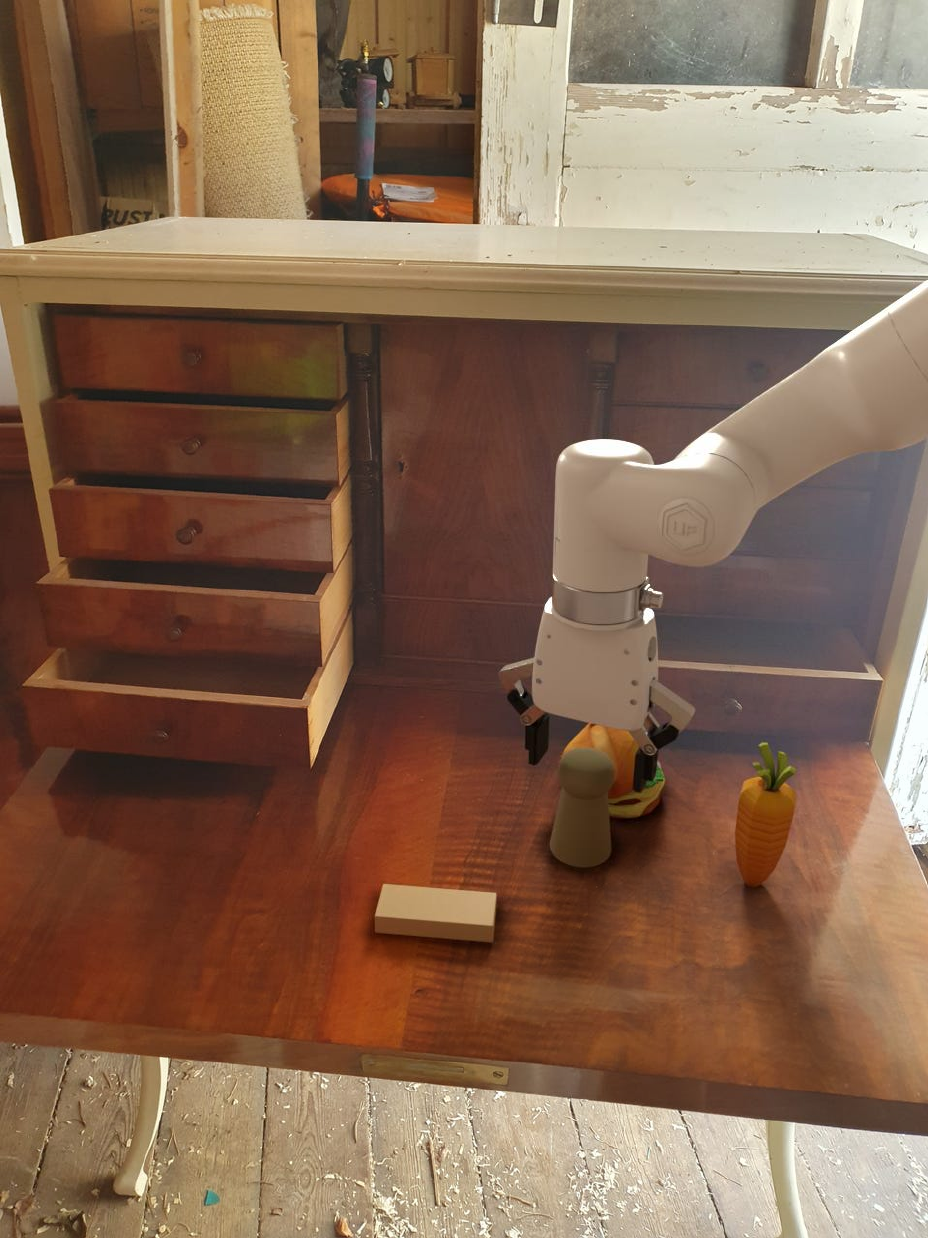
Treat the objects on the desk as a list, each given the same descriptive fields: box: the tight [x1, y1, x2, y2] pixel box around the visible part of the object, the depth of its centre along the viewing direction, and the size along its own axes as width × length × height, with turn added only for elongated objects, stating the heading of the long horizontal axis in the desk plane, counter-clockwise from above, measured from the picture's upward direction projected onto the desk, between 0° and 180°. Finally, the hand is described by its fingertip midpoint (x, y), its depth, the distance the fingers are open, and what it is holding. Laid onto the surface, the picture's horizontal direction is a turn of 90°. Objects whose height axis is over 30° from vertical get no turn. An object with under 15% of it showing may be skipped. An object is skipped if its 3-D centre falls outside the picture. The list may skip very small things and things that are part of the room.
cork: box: [549, 747, 615, 868], centre depth 90 cm, size 6×6×11 cm
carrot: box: [734, 742, 797, 888], centre depth 85 cm, size 5×5×15 cm
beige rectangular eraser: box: [374, 883, 498, 943], centre depth 83 cm, size 10×4×2 cm, turn 84°
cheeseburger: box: [557, 723, 666, 820], centre depth 98 cm, size 10×11×10 cm
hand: (588, 770), depth 86 cm, fingers open, 9 cm apart
